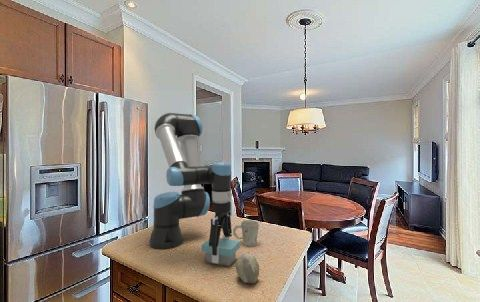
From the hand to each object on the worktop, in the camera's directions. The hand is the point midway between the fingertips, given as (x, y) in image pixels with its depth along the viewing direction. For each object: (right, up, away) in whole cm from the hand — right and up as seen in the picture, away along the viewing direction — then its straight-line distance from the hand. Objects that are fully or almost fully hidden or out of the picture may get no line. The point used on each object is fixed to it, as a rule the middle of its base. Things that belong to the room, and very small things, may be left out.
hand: (220, 257), depth 98 cm
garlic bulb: (+10, -2, -14) cm, 17 cm away
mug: (+10, -2, +18) cm, 21 cm away
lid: (0, +3, 0) cm, 3 cm away
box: (0, -1, 0) cm, 1 cm away
